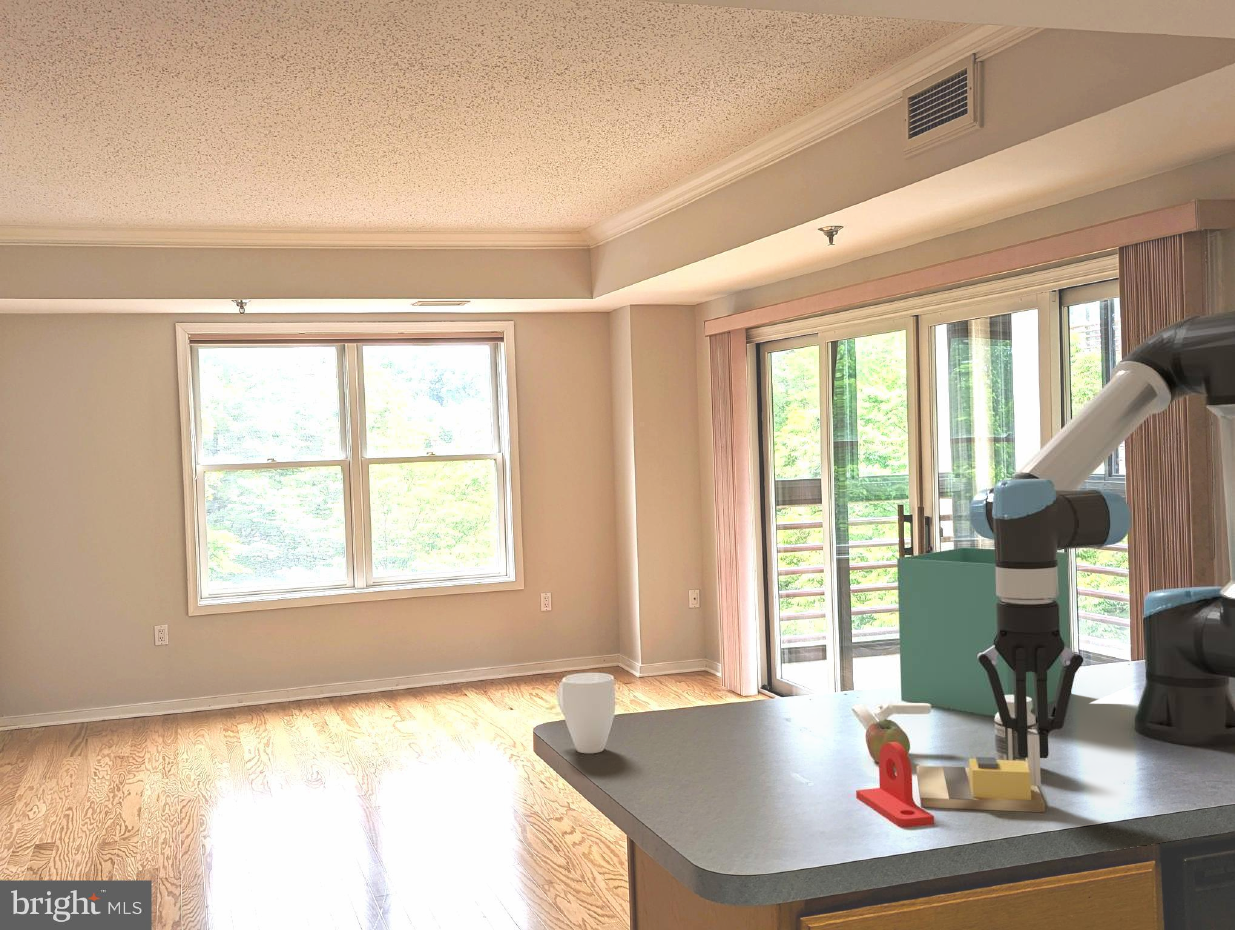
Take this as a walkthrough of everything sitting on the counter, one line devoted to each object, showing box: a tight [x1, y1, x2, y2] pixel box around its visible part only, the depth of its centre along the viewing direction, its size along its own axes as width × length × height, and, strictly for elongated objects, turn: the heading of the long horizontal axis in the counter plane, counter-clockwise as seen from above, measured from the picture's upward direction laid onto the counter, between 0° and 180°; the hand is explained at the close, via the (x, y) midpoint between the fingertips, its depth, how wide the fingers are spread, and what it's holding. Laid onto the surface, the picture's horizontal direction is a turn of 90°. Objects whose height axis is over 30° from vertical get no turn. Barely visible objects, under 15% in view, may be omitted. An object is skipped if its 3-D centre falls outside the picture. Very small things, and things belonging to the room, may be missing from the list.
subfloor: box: [916, 765, 1046, 813], centre depth 143 cm, size 15×14×1 cm
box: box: [896, 547, 1071, 717], centre depth 195 cm, size 23×21×26 cm
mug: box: [556, 672, 616, 754], centre depth 171 cm, size 12×8×11 cm
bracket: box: [855, 742, 935, 828], centre depth 137 cm, size 12×4×8 cm, turn 13°
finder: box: [968, 756, 1031, 800], centre depth 139 cm, size 7×5×4 cm
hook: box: [850, 702, 932, 731], centre depth 165 cm, size 8×12×7 cm, turn 78°
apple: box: [865, 719, 911, 763], centre depth 159 cm, size 6×8×6 cm
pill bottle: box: [994, 695, 1036, 762], centre depth 153 cm, size 6×6×10 cm
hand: (1033, 782), depth 138 cm, fingers closed
